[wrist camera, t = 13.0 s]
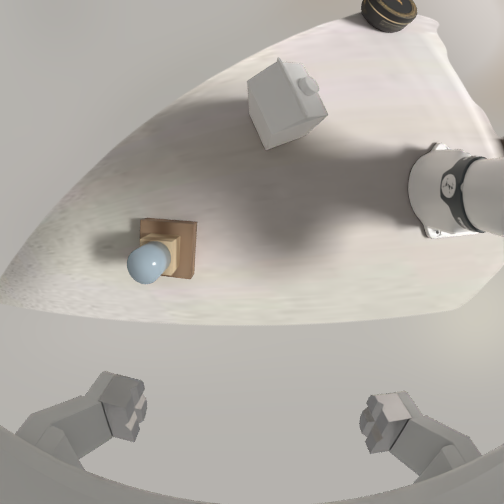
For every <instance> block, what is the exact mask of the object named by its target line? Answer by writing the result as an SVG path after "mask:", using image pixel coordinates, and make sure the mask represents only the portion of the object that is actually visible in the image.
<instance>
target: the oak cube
mask: <svg viewBox="0 0 504 504" xmlns="http://www.w3.org/2000/svg"><path fill="white" fill-rule="evenodd" d="M150 241H159V242H161V243H163V244H164V245H166V246H167V248H168V249H169V251H170V254H171V263H170V265H169V267H168V268H167V269H166V270H165V271H164V272H163V273H162V275H170V276H171V275H172V274H173V273H174V272H175V270H176V269H177V268H178V267H179V259H180V236H177V235H166V234H155V233H151V234H149V235H147V236H145V237H143V238H141V239H140V247H141V246H143V245H144V244H146V243H148V242H150Z"/></svg>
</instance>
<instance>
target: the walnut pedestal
mask: <svg viewBox="0 0 504 504" xmlns="http://www.w3.org/2000/svg"><path fill="white" fill-rule="evenodd" d="M196 231H197V222H192V221H180V220H167V219H154V218H145V219H142V220H140V239H141V238H143V237H145V236H147V235H149V234H151V233H155V234H166V235H177V236H180V259H179V267H178V268H177V269H176V270H175V272H174V273H173V274H172V275H171V276H170V275H162V274H161V275H160V276H168V277H176V278H185V279H191V278H192V276H193V275H194V267H195V247H196Z"/></svg>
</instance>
